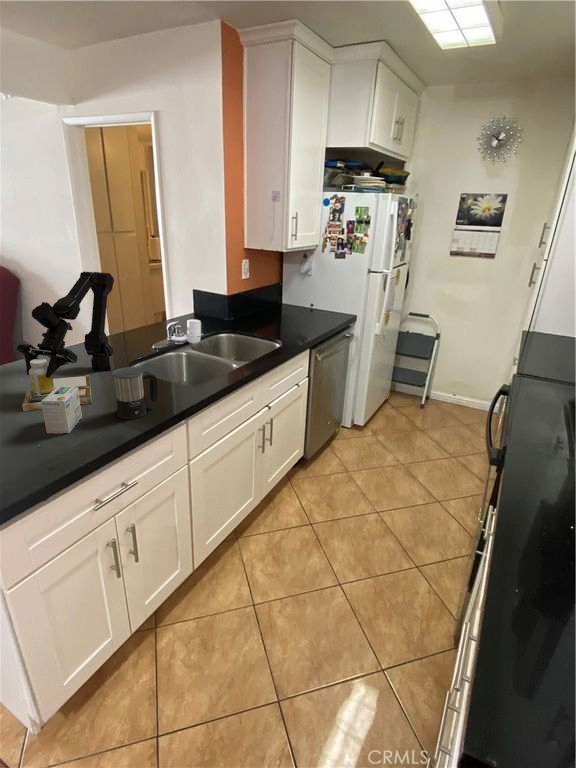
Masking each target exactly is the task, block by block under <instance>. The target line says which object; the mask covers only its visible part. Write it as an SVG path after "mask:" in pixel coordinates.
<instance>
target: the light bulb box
mask: <svg viewBox="0 0 576 768" xmlns="http://www.w3.org/2000/svg"><path fill="white" fill-rule="evenodd" d="M40 402H41V404H42V409H41V410H42V415H43V421H44V425H45V430H46V433H47V434H63V433H69V434H70V433H71V431H72V430H73V429H74V428H75V427H76V426H77V424H78V423H79V422H80V421H81V420H80V419H82V418H83V415H82V407H81V405H80V399H79V391H78V387H56V388H55V389H54V390H53V391H52V392H51V393H50V394H49V395H48V396H44V398H42V400H41V401H40ZM79 420H80V421H79ZM75 425H76V426H75Z"/></svg>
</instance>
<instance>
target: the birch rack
mask: <svg viewBox="0 0 576 768" xmlns="http://www.w3.org/2000/svg"><path fill="white" fill-rule="evenodd" d="M84 376H85V377H86V385H87V386H76V387H78V390H79V389H86V395H87V397H84V398H79V399H80V404H83V405H90V404H89V403H92V388H91V387H92V386H91V380H90V374H86V375H84ZM39 397H42V396H35V395H34V394H33V391H32V390H27V391H26V393H25V395H24V399H23V401H22V409H23V411H22V412H27V411H29V412H30V411H37V410H42V404H41V401H39V402H31V400H32V398H39Z"/></svg>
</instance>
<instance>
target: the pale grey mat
mask: <svg viewBox="0 0 576 768" xmlns="http://www.w3.org/2000/svg"><path fill="white" fill-rule="evenodd" d="M53 382H54V388H56V387H76V386H87V385H86V377H85V375H83V376H72V377H71V376H70V377H60V378H53Z"/></svg>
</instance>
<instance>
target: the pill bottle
mask: <svg viewBox="0 0 576 768" xmlns="http://www.w3.org/2000/svg"><path fill="white" fill-rule="evenodd" d="M47 364H48V362H47V359H46V358H38V359H34V360H31V361H30V365H31V367H32V368H31V369H30V370H29V375H28V376H29V380H30V381H29V382H30V384H31V389H32V390H31V391H33V394H34V395H35V396H41V397H46V396H48V395H49V394H50V393H51V392H52V391H53V390H54V389H55V388H54V382H53V379H54V378H53V374H52V375H51V376H50V377H49V378H47V377H46V372H47V369H48V365H47Z"/></svg>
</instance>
